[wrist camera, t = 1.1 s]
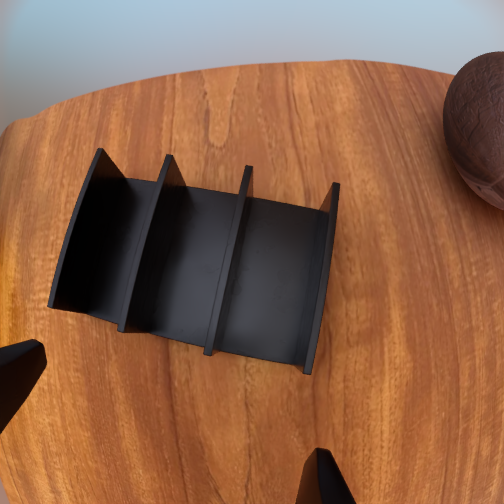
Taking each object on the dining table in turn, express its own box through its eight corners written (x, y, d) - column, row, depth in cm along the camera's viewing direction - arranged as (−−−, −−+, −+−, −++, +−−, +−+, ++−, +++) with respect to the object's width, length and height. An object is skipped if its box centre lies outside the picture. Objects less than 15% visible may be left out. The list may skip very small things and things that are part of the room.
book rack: (323, 213, 25) (340, 183, 20) (298, 365, 22) (311, 375, 17) (123, 179, 26) (97, 147, 21) (85, 313, 23) (46, 306, 18)
